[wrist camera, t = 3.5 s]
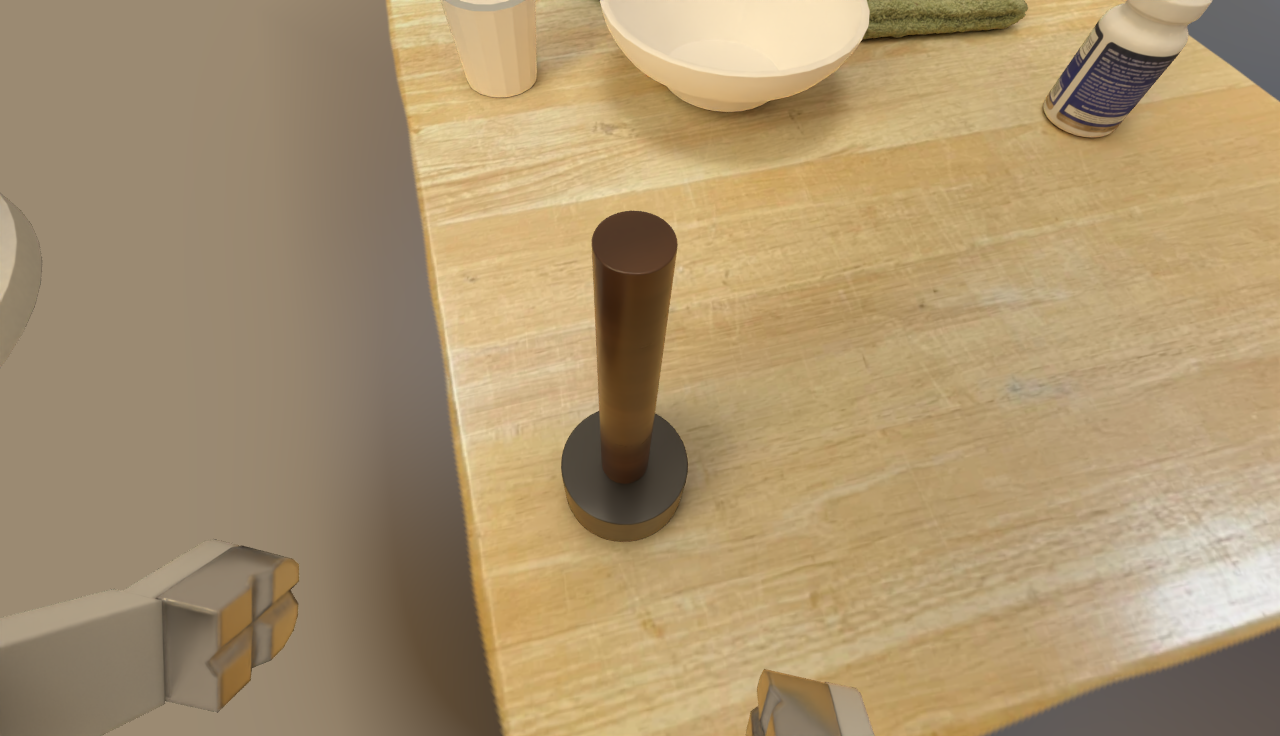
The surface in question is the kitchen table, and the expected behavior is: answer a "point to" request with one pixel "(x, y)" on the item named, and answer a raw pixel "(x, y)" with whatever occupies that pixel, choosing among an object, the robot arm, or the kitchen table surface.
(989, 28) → the washcloth
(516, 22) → the shot glass
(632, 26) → the bowl
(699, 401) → the kitchen table surface
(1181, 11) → the pill bottle
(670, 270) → the paper towel holder
